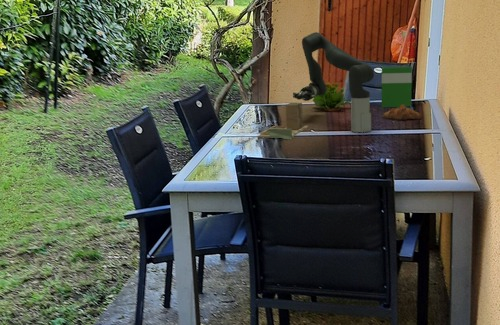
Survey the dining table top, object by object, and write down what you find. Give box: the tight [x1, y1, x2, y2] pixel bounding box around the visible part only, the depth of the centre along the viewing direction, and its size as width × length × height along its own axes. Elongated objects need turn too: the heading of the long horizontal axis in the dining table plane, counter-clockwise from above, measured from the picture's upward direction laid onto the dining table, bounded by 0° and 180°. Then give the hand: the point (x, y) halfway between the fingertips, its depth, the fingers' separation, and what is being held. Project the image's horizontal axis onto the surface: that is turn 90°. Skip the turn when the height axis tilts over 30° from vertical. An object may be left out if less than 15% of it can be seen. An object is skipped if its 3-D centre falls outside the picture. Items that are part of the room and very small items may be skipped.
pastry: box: [381, 105, 423, 121], centre depth 334 cm, size 17×15×8 cm
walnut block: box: [285, 102, 304, 130], centre depth 315 cm, size 8×6×13 cm
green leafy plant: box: [312, 81, 351, 112], centre depth 373 cm, size 25×24×18 cm
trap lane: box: [256, 125, 309, 140], centre depth 310 cm, size 27×18×5 cm, turn 157°
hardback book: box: [381, 66, 413, 108], centre depth 373 cm, size 18×7×24 cm, turn 76°
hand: (298, 97), depth 321 cm, fingers closed
